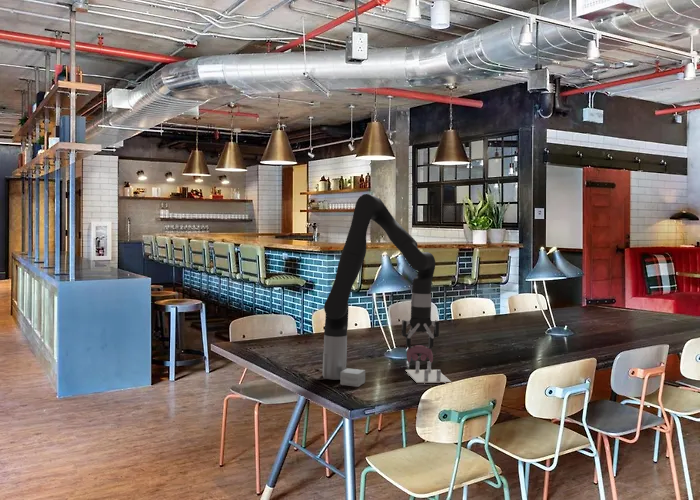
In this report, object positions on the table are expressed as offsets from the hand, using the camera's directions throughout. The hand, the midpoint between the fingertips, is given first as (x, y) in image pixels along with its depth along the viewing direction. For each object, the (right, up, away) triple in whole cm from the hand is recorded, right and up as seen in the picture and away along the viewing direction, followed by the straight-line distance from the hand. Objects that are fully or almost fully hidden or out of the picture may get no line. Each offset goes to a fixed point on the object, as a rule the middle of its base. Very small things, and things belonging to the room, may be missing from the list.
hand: (419, 347), depth 239 cm
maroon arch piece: (0, -5, -1) cm, 5 cm away
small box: (-25, -15, +7) cm, 30 cm away
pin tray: (+5, -15, +19) cm, 24 cm away
